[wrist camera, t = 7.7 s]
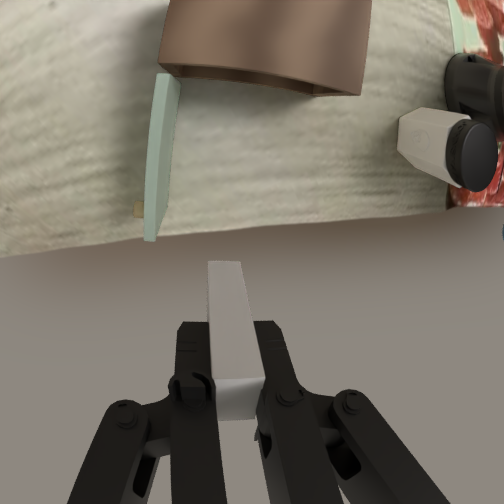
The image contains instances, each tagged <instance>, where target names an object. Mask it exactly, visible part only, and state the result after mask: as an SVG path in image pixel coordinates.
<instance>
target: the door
mask: <svg viewBox="0 0 504 504" xmlns="http://www.w3.org/2000/svg"><path fill="white" fill-rule="evenodd" d="M180 90H181V83H180V82H179V81H178V80H176V79H175V78H174V77H173V76H172V75H171V74H165V73H157V77H156V83H155V90H154V96H153V103H152V111H151V119H150V127H149V137H148V148H147V160H146V174H145V194H144V201H135V203H134V209H133V216H134V218H144V241H155V239H156V237H157V234H158V231H159V228H160V225H161V223H162V220H163V217H164V215H165V212H166V209H167V207H168V192H169V179H170V168H171V158H172V148H173V140H174V131H175V124H176V116H177V109H178V102H179V96H180Z"/></svg>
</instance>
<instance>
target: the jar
mask: <svg viewBox="0 0 504 504" xmlns="http://www.w3.org/2000/svg"><path fill="white" fill-rule="evenodd" d="M397 151H398V152H400V153H401V154H402V155H403V156H404V157H405V158H406V159H407V160H408V161H409V162H410V163H411V164H412V165H413V166H414V167H415V168H417V169H419V170H421V171H424V172H426V173H428V174H430V175H433V176H435V177H437V178H439V179H441V180H443V181H445V182H448V183H450V184H452V185H454V186H456V187H458V188H461V187H464V188H466V189H468V190H470V191H472V192H480V191H482V190H484V189H485V188H486V187H487V186H488V185H489V184H490V182H491V180H492V179H493V176H494V174H495V171H496V167H497V162H498V146H497V141H496V138H495V135H494V133H493V131H492V129H491V128H490V127H489V126H488V125H487V124H485V123H483V122H479V121H475V120H471V118H470V117H469V116H468V115H464V114H459V113H454V112H449V111H443V110H437V109H431V108H424V107H420V108H418V109H416V110H414V111H412V112H410V113H408V114H406V115H404V116H402V117H400V118H399V130H398V142H397Z"/></svg>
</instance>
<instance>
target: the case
mask: <svg viewBox="0 0 504 504" xmlns="http://www.w3.org/2000/svg"><path fill="white" fill-rule="evenodd" d="M371 6H372V0H170V3H169V7H168V11H167V16H166V20H165V25H164V30H163V35H162V40H161V45H160V51H159V57H158V64H159V65H161V66H162V67H163V68H164V69H165V70H166V71H167V72H168V73H170V74H171V75H172V76H173V77H182V78H201V79H213V80H224V81H233V82H241V83H249V84H256V85H262V86H268V87H274V88H279V89H285V90H290V91H294V92H299V93H304V94H308V95H312V96H316V97H321V96H360V95H361V89H362V82H363V76H364V69H365V62H366V54H367V46H368V38H369V28H370V18H371Z"/></svg>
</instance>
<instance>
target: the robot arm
mask: <svg viewBox="0 0 504 504" xmlns="http://www.w3.org/2000/svg"><path fill="white" fill-rule="evenodd" d="M445 94H446V100H447V105H448V109H449V112H454V113H459V114H464V115H468V116H469V117H470V118H471V120H475V121H479V122H483V123H485V124H487V125H488V126H489V127H490V128H491V129H492V131H493V133H494V135H495V138H496V141H497V142H502V141H504V66H502V65H500V64H498V63H495V62H493V61H491V60H489V59H487V58H484V57H482V56H480V55H477V54H473V53H460V54H457V55H455V56H454V57H453V58H452V59H451V61H450V62H449V65H448V67H447V71H446V76H445ZM502 234H503V240H504V225H503V231H502ZM207 279H208V280H207V322H183V323H182V324H181V326H180V327H179V330H178V331H177V343H176V356H175V374H174V375H173V376H172V378H171V379H170V381H169V384H168V389H169V395H168V396H167V397H166V398H164V399H163V400H161V401H158V402H155V403H150V404H146V405H141V404H139V403H137V402H135V401H132V400H120V401H116V402H115V403H113V404H111V405H110V406H109V408H108V409H107V410H106V412H105V415H104V417H103V419H102V421H101V423H100V425H99V428H98V430H97V432H96V434H95V436H94V439H93V441H92V443H91V446H90V448H89V450H88V453H87V455H86V457H85V460H84V462H83V464H82V467H81V469H80V472H79V474H78V476H77V479H76V482H75V484H74V487H73V489H72V492H71V494H70V497H69V500H68V503H67V504H147V501H148V497H149V494H150V490H151V487H152V483H153V480H154V477H155V473H156V470H157V467H158V463H159V460H160V457H161V456H165V455H170V459H171V460H170V461H171V462H170V464H171V495H172V504H227V498H226V491H225V483H224V475H223V467H222V460H221V450H220V440H219V431H218V421H226V420H227V421H228V420H247V419H255V415H257V420H258V426H257V430H256V433H255V437H254V441H257V440H258V443H259V448H260V453H261V459H262V464H263V469H264V474H265V479H266V484H267V489H268V494H269V499H270V504H344V503H343V500H342V496H341V493H340V490H339V487H340V488H341V490H342V491H343V493H344V495H345V496H346V498H347V499H348V500H349V502H350V503H351V504H450V503H449V501H448V500H447V499H446V497H445V496H444V495H443V494H442V492H441V491H440V490H439V488H438V487H437V486H436V485H435V483H434V482H433V481H432V480H431V478H430V477H429V476H428V474H427V473H426V472H425V471H424V469H423V468H422V467H421V466H420V464H419V463H418V462H417V460H416V459H415V458H414V456H413V455H412V454H411V453H410V451H409V450H408V449H407V447H406V446H405V445H404V444H403V442H402V441H401V440H400V439H399V437H398V436H397V435H396V433H395V432H394V431H393V430H392V428H391V427H390V426H389V425H388V424H387V422H386V421H385V419H384V418H383V417H382V416H381V414H380V413H379V412H378V410H377V409H376V408H375V407H374V405H373V404H372V403H371V401H370V400H369V399H368V398H367V397H366V396H365V395H364V394H363V393H361V392H359V391H357V390H351V389H348V390H344V391H341V392H340V393H338V394H337V395H336V396H335V397H332V396H324V395H318V394H313V393H311V392H309V391H307V390H306V389H305V388H304V387H302V386H301V385H300V384H299V382H298V380H297V378H296V375H295V372H294V368H293V365H292V362H291V359H290V356H289V353H288V350H287V346H286V343H285V341H284V337H283V334H282V331H281V329H280V328H279V326H277V325H276V323H275V322H274V321H253V319H252V314H251V310H250V305H249V300H248V296H247V291H246V287H245V282H244V277H243V273H242V267H241V263H240V261H208V278H207ZM338 485H339V487H338Z"/></svg>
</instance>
